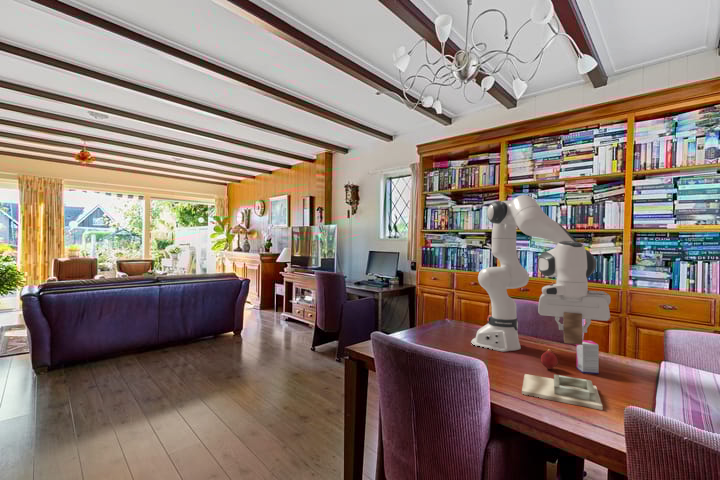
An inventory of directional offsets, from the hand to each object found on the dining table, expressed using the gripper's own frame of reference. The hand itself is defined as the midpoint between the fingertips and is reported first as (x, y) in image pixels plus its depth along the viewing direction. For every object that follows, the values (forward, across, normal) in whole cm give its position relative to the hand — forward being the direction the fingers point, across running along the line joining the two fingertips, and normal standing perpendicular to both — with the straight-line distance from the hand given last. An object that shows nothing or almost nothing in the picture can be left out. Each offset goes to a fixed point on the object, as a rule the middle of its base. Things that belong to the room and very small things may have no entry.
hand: (572, 331), depth 110 cm
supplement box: (+21, -6, -26) cm, 34 cm away
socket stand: (+21, +4, 0) cm, 21 cm away
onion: (+21, +7, -21) cm, 31 cm away
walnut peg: (+4, 0, 0) cm, 4 cm away
